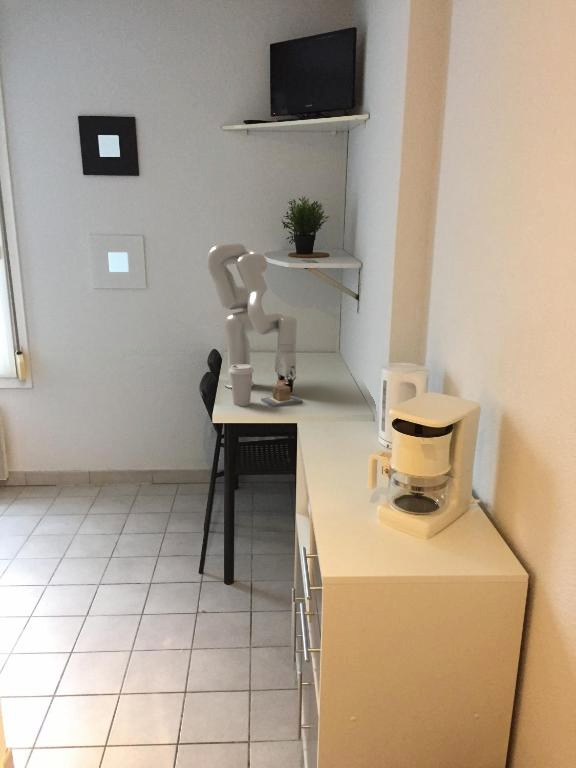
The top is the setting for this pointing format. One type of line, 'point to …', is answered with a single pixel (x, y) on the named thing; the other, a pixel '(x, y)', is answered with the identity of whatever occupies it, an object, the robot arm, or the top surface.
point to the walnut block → (281, 392)
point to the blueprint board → (276, 403)
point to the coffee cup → (241, 383)
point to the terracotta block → (282, 383)
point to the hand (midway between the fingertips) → (285, 390)
